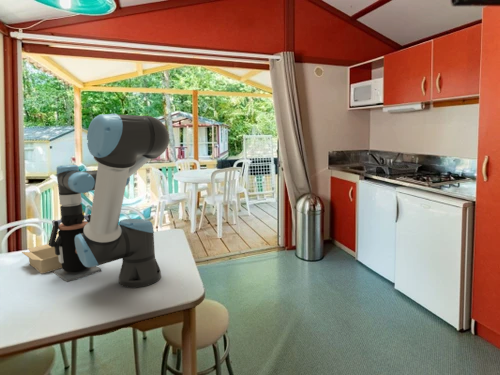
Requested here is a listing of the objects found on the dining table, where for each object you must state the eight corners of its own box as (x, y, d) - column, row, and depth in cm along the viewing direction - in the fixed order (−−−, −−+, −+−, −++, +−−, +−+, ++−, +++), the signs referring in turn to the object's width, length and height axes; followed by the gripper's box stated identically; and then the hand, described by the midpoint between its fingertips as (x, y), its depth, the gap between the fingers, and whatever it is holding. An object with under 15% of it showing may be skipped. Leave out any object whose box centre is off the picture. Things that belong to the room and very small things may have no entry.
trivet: (101, 271, 130) (101, 268, 130) (66, 282, 120) (66, 279, 120) (87, 263, 139) (87, 261, 138) (54, 273, 129) (54, 270, 129)
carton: (99, 259, 144) (98, 245, 143) (36, 277, 125) (35, 261, 124) (80, 249, 157) (79, 236, 156) (21, 264, 138) (19, 250, 138)
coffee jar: (79, 273, 123) (74, 228, 120) (55, 271, 125) (50, 227, 122) (97, 263, 133) (94, 221, 131) (75, 261, 135) (71, 220, 133)
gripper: (96, 198, 136) (100, 248, 140) (34, 208, 119) (40, 264, 122) (104, 200, 132) (109, 252, 135) (40, 210, 114) (47, 269, 117)
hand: (76, 258), depth 129 cm, fingers closed on coffee jar, 11 cm apart
